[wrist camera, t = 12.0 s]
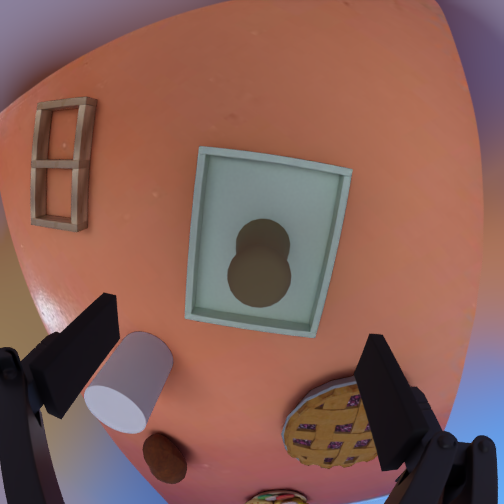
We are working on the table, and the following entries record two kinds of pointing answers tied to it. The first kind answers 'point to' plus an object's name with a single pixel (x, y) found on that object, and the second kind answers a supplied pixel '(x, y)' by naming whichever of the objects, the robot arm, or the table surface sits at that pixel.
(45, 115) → the two-slot wooden frame
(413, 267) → the table surface
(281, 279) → the brown pawn
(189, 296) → the tray
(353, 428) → the pie
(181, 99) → the table surface
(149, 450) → the potato
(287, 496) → the toy food set
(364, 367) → the robot arm
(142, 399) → the cup
